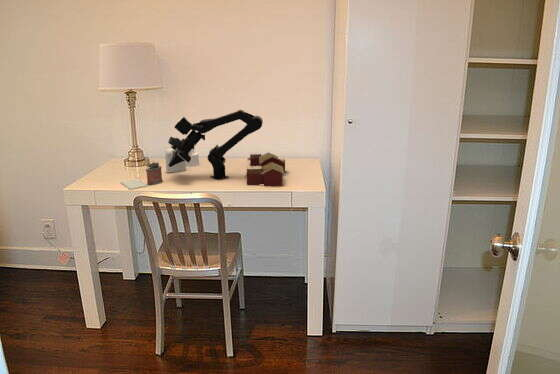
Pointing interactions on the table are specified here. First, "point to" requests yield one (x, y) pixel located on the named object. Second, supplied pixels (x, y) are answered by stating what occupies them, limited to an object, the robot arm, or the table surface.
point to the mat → (134, 184)
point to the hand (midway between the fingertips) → (169, 166)
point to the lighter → (154, 174)
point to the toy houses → (265, 170)
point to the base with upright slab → (193, 159)
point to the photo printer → (175, 168)
